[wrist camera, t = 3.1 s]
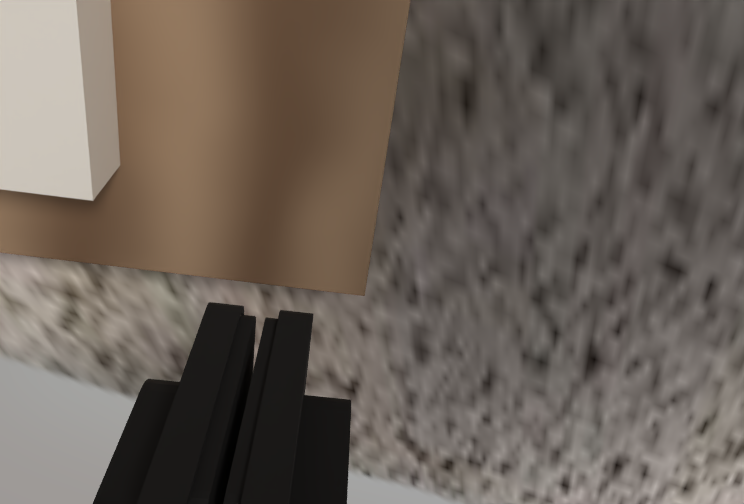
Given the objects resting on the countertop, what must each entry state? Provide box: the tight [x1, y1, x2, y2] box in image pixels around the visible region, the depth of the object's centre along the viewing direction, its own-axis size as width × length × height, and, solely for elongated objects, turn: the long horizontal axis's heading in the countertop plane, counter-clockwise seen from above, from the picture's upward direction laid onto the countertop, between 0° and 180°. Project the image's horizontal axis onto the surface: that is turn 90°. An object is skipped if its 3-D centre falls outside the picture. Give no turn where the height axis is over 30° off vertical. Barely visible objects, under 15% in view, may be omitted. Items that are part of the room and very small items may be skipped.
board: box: [0, 0, 410, 296], centre depth 23 cm, size 20×14×4 cm
